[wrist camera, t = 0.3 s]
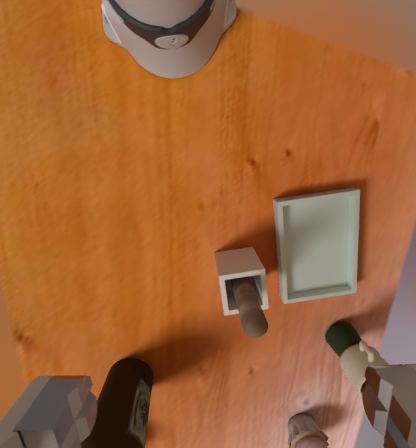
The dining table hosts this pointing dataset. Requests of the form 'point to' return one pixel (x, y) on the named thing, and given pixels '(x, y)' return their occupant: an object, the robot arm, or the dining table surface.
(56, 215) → the dining table surface
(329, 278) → the sage tray
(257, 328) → the walnut pin
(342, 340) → the character mug
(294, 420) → the cupcake
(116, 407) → the olive oil
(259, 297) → the white square sleeve
